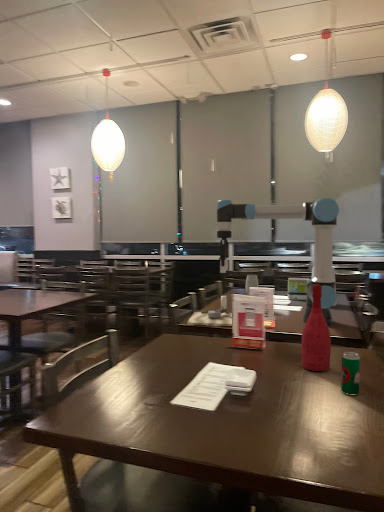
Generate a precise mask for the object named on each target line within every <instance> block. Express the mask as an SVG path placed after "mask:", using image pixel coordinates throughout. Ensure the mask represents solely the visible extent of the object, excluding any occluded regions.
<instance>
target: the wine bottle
mask: <svg viewBox="0 0 384 512" xmlns="http://www.w3.org/2000/svg"><path fill="white" fill-rule="evenodd" d="M321 293H322V286H321V285H319V284H314V285H313V286H312V297H313V304H312V310H311V313H310V315H309V318H308V320H307V322H305V324H304V327H303V330H302V333H301V366H302V368H304V369H306V370H307V369H308V370H307V371H310V370H312V371H311V372H315V371H323V372H327V371H328V370H329V369H330V365H331V350H332V349H331V347H332V345H331V344H332V340H331V339H332V338H331V333H330V330H329V325H328V324H327V323H326V321H325V319H324V316H323V314H322V310H321V297H322V294H321ZM326 370H327V371H326Z"/></svg>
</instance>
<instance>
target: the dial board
mask: <svg viewBox="0 0 384 512" xmlns="http://www.w3.org/2000/svg"><path fill="white" fill-rule="evenodd" d="M209 311H210V310H202V311H194V312H193V313H192V315H191V316H190V317H189V319H188V321H187V322H186V326H194V325H206V326H205V327H221V326H232V313H233V312H229V311H227V312H225V313H222V314H221V318H216V319H214V318H209V317H208V312H209Z"/></svg>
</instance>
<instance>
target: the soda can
mask: <svg viewBox="0 0 384 512" xmlns="http://www.w3.org/2000/svg"><path fill="white" fill-rule="evenodd" d="M359 355H360V354H359V353H357V352H354V351H344V352H343V354H342V355H341V384H340V388H341V389H340V390H341V392H342V391H343V392H345V393H348V394H358V393H359V394H360V388H361V387H360V385H361V384H360V382H361V381H360V380H361V375H360V374H361V357H360V356H359ZM343 392H342V393H343ZM359 394H358V395H359Z"/></svg>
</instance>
